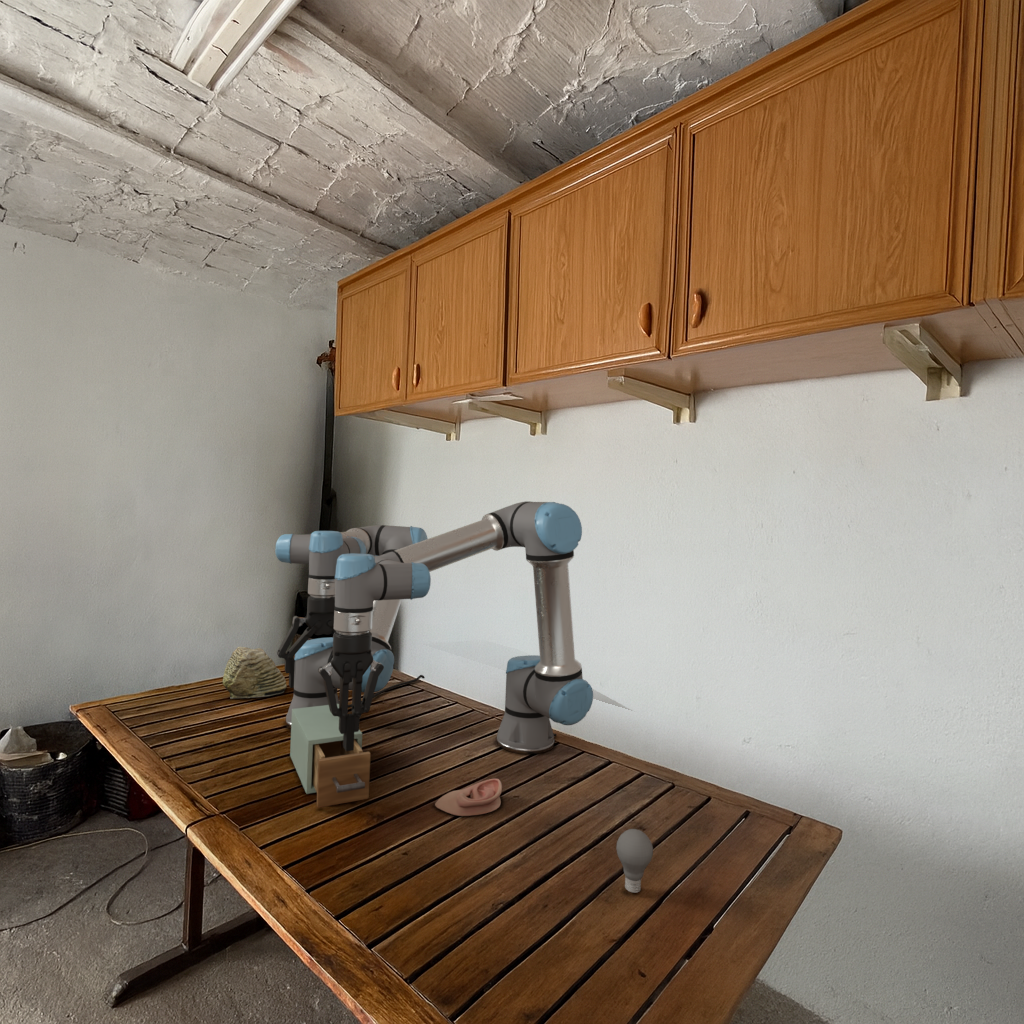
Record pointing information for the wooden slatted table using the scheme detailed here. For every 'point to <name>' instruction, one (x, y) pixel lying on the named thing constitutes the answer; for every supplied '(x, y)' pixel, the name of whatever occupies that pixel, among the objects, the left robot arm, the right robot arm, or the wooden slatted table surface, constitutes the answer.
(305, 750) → the cabinet
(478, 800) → the anatomical model
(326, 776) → the drawer
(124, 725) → the wooden slatted table surface
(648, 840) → the light bulb
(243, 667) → the fossil
